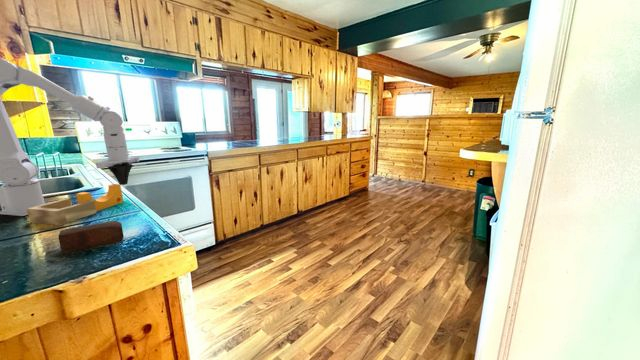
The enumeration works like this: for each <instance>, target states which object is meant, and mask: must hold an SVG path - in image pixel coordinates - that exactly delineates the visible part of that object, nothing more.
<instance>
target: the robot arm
mask: <svg viewBox="0 0 640 360" xmlns="http://www.w3.org/2000/svg"><path fill="white" fill-rule="evenodd" d="M20 85H25V86H27V87H33V88H35V87H36V88H38V89H40V90H42V91H44V92H46V93H48V94H50V95H53V96H54V97H56V98H58V99H60V100H62V101H64V102H66V103H68V104H69V105H70V106H71V109H72V111H75V113H76V112H77V113H78V114H81V115H82V116H84V117H86V118H89V120H92V121H94V122H100V124H101V126H102V129H103V139H104V144H105V151H106V153H107V160H102V161H97V162H95V165H96V169H105V168H107V169H108V170H109V171H110V172H111V173H112V174H113V175H114V177H115V179H116V180H117V182H118V184H120V186H122V185H123V186H124V185H128V183H129V176H130V172H131V169H132V168H133V163H137V162H140V156H129V151H128V146H127V145H128V144H127V141H126V135H125V133H124V127H123V126H122V125H123V122H124V121H123V119H122V116H121V115H120V114H118V113H117V112H116V111H114V110H113V111H112V110H111V107H108V106H104V105H102V104H101V103H98V102H97V101H96V100H94V98H93V97H92V96H90V95H89V96H88V95H87V96H86V95H84V94H82V95H81V94H79V95H76V94H74V93H72V92H70V91H68V90H66V89H65V88H63V87H62V86H59V85H58V84H56V83H55V82H53V81H51V80H49V79H47V78H46V77H44V76H42V75H41V74H39V73H37V72H34V71H33V70H29V69H28V68H25V67H23V66H21V65H18V64H15V63H12V62H10V61H8V60H7V59H5V58H2V57H0V182H1V183H2V185H1V186H0V209H1V211H0V215H5V216H6V215H8V216H17V217H18V216H19V217H23V216H27V215H28V212H27V208H31V207H35V206H39V205H43V204H46V202H45V198H44V195H43V191H42V187H41V183H40V180H39V178H37V174H38V173H39V168H38V166H37V165H36V164H35V163H34V162H33V161H32V160H31V159H30V157H29V156H28V154H27V153H26V152H25V151H24V150H23V147H22V145H21V143H20V140H19V138H18V136H17V133H16V131H15V129H14V126H13V122H12V121H11V119H10V116H9V114H8V112H7V110H6V107H5V104H4V103H3V100H2V98H1V97H2V95H4V93H6V92H7V91H8V90H10V89H12V88H14V87H17V86H20ZM28 216H29V215H28Z"/></svg>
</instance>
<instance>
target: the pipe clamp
mask: <svg viewBox="0 0 640 360" xmlns="http://www.w3.org/2000/svg"><path fill="white" fill-rule="evenodd" d="M75 196H76V199H77V204H79V203H82V202H85V201H89V200H94V203H95V207H96V212H99V211H101V210H104V209H107V208H109V207H112V206H115V205H119V204H122V203H123V202H124V198H123V191H122V185H120V184H119V183H114V184H113V183H112V184H109V185H108V189H107V193H106V194H103V195H100V196H99V197H98V198H96V199H95V198H94V197H92V195H91V192H86V191H82V192H78V193H75Z"/></svg>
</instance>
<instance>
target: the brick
mask: <svg viewBox="0 0 640 360" xmlns="http://www.w3.org/2000/svg"><path fill="white" fill-rule="evenodd" d="M122 224H123V223H121V222H120V221H118V220H111V221H110V220H109V221H105V222H99V223H94V224H93V223H92V224H89V225H81V226H73V227H69V228H65V229H62V230H60V231H59V233H58V236H57V237H58V243H59V247H60V249H61V253H62V254H63V255H66V254H67V255H68V254H71V253H75V252H76V253H77V252H80V251H85V250H90V249H93V248H98V247H102V246H107V245H111V244H117V243H120V242H122V241H123V239H124V231H123V226H122Z"/></svg>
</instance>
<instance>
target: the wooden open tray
mask: <svg viewBox="0 0 640 360" xmlns="http://www.w3.org/2000/svg"><path fill="white" fill-rule="evenodd" d="M27 212H28V218H29V221H30V223H34V224H43V225H44V224H46V225H56V226H63V225H65V224H69V223H71V222H74V221H76V220H80V219H82V218H86V217H89V216H91V215H94V214H98V213H97V212H98V211H96V207H95V203H94V200H89V201H85V202H82V203H79V204H78V203H76V204H72V201H71V198H67V197H66V198H64V199H60V200H59V199H58V200H55V201H50V202H47V203H45V204H43V205H39V206H35V207H31V208H27Z"/></svg>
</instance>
